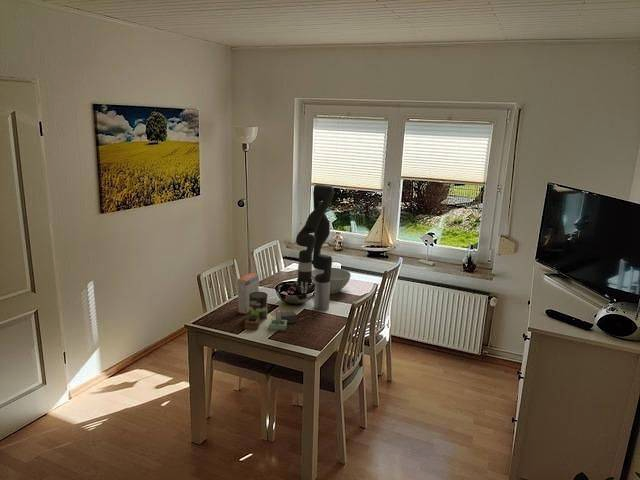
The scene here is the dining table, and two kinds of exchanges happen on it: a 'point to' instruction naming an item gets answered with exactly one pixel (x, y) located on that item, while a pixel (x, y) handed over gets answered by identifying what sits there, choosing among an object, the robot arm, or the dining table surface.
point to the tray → (278, 325)
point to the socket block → (252, 323)
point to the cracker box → (246, 291)
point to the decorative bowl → (335, 278)
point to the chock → (288, 316)
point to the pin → (278, 317)
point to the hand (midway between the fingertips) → (304, 298)
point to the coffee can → (258, 305)
